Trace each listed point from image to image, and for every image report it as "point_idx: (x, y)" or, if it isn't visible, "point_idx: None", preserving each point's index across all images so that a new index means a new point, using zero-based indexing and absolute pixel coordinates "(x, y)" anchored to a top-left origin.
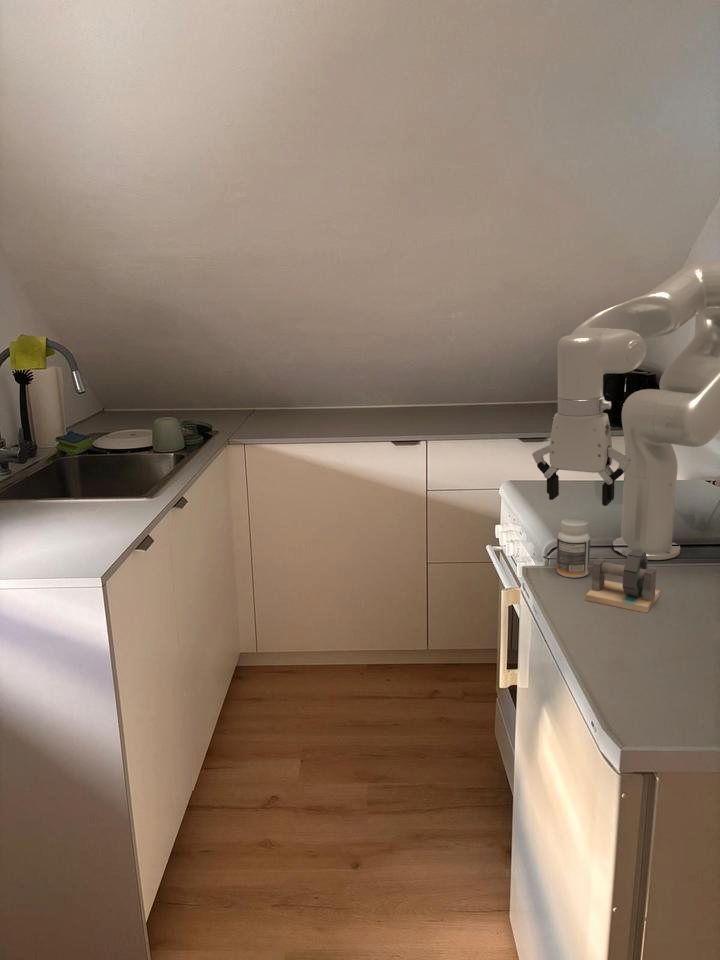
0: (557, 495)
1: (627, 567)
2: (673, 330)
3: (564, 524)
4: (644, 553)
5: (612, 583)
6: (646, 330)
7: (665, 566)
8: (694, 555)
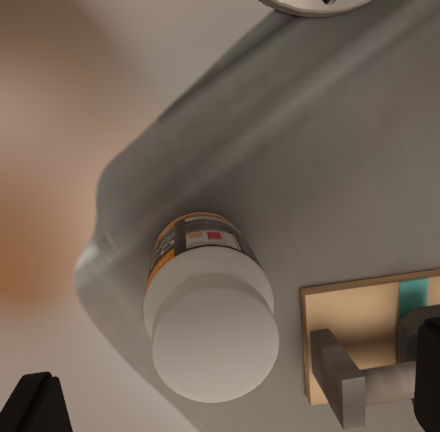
0: (61, 399)
1: None
2: None
3: (192, 398)
4: None
5: (342, 303)
6: None
7: (415, 28)
8: None
